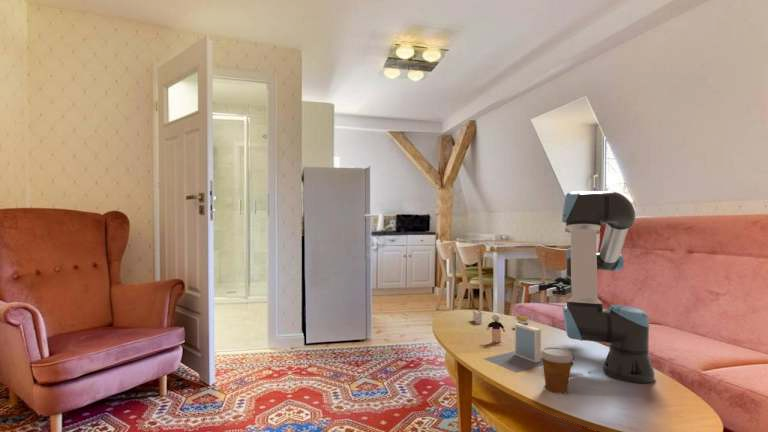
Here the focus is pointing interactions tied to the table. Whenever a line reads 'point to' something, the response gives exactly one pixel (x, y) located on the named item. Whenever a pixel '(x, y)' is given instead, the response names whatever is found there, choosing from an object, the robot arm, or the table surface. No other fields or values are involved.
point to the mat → (514, 362)
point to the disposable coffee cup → (556, 368)
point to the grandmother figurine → (496, 328)
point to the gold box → (522, 320)
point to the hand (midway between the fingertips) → (538, 291)
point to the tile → (528, 342)
